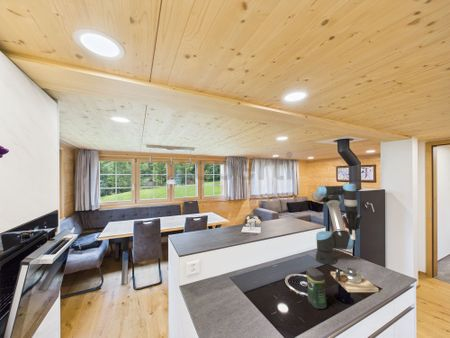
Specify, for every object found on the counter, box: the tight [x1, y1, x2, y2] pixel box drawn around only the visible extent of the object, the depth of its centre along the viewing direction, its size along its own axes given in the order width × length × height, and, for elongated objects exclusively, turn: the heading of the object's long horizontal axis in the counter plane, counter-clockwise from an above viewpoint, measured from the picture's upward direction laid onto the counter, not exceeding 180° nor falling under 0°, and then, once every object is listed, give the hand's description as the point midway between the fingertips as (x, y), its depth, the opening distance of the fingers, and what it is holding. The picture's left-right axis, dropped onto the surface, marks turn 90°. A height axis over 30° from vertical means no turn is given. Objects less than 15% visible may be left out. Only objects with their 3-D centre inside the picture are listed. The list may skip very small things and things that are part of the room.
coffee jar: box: [305, 266, 328, 310], centre depth 102 cm, size 10×8×19 cm
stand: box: [330, 271, 380, 293], centre depth 120 cm, size 20×18×2 cm
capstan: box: [334, 267, 362, 283], centre depth 119 cm, size 18×10×8 cm, turn 102°
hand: (353, 239), depth 126 cm, fingers closed
